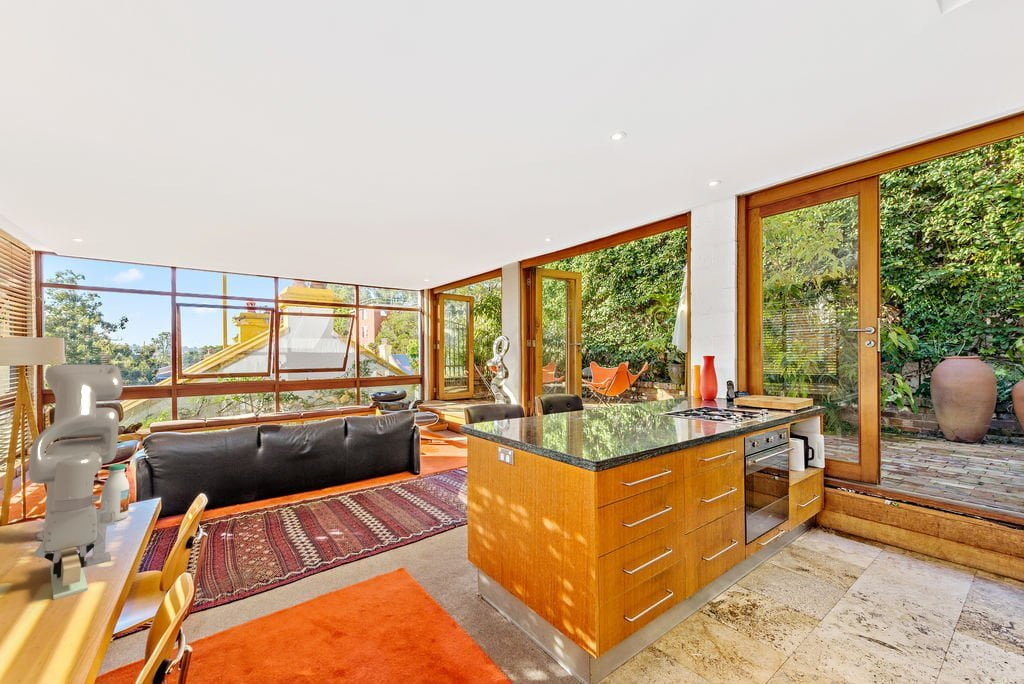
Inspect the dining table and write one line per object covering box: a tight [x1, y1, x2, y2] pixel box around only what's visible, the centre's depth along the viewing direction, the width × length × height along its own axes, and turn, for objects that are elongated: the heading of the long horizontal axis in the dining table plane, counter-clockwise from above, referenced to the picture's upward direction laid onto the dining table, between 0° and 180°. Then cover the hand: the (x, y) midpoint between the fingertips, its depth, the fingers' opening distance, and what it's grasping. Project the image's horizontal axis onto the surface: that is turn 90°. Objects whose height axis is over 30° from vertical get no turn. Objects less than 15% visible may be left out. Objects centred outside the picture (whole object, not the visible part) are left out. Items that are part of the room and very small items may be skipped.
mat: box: [49, 565, 89, 600], centre depth 114 cm, size 23×6×1 cm, turn 49°
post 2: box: [84, 511, 116, 567], centre depth 126 cm, size 5×6×13 cm
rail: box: [60, 547, 81, 586], centre depth 115 cm, size 22×3×4 cm, turn 49°
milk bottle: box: [99, 463, 130, 522], centre depth 159 cm, size 8×8×20 cm
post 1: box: [86, 500, 109, 546], centre depth 136 cm, size 5×6×13 cm
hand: (68, 572), depth 115 cm, fingers closed on rail, 3 cm apart
